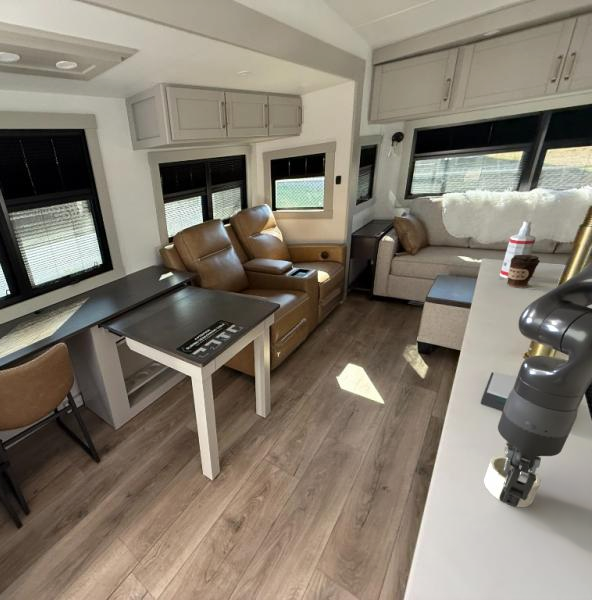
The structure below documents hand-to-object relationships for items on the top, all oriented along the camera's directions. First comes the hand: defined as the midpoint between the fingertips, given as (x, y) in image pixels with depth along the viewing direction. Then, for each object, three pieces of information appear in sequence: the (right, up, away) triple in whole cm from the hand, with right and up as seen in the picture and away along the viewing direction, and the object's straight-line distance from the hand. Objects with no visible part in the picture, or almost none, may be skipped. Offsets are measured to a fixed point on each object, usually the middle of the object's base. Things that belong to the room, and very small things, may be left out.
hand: (508, 487), depth 58 cm
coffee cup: (+83, +41, +78) cm, 121 cm away
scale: (+23, +10, +21) cm, 33 cm away
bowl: (0, -1, 0) cm, 1 cm away
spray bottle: (+90, +45, +88) cm, 133 cm away
